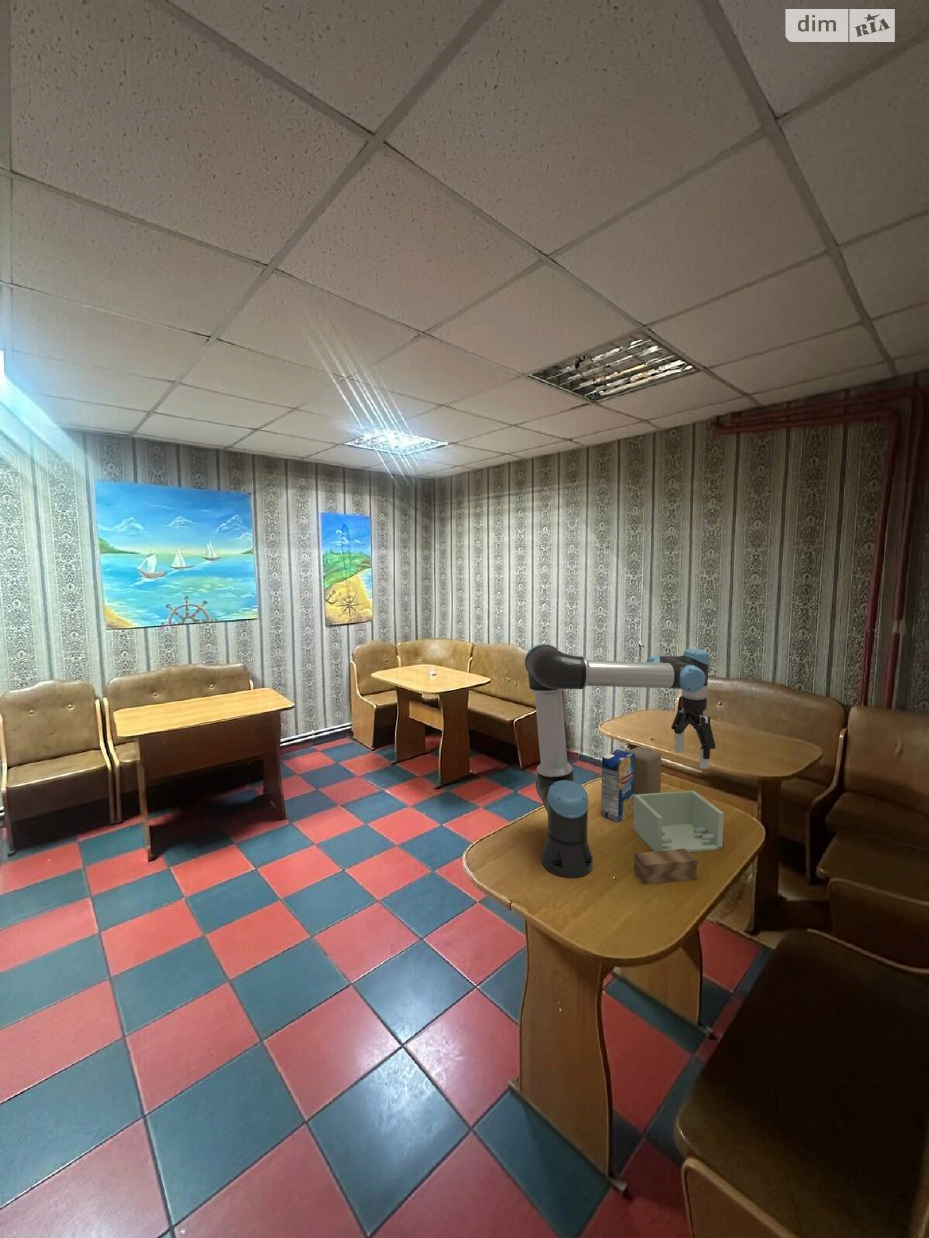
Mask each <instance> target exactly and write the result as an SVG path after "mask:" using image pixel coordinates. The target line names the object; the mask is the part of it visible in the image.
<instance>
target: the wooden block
mask: <svg viewBox="0 0 929 1238" xmlns="http://www.w3.org/2000/svg"><path fill="white" fill-rule="evenodd" d="M626 752H629V753H633V754H635V771H634V795H637V794H651V793H661V778H662V753H661V752H659V751H655V750H652V749H648V748H645V747H643V746H637V747H634V748H632V749H629V750H627V751H626Z"/></svg>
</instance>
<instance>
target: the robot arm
mask: <svg viewBox="0 0 929 1238" xmlns="http://www.w3.org/2000/svg"><path fill="white" fill-rule="evenodd" d="M709 656H710V655H709V652H708V651H707V650H703V649H698V648H687V649H685V650H683V654H682V655H678V656H677V655H674V656H673V655H667V656H666V655H657V656H656V655H654V656H649V657H648V658H647V659H646V661H622V660H621V661H618V660H595V659H594V660H591V659H586V658H585V657H584V656H583V655H582V656H580V655H571V654H567V653H565V652H562V651H560V650H559V649H558V648H556V647H555V646H554V645H552V644H546V643H540V644H539V643H538V644H537V645H534V646H533V647H531V648H530V649H529V650H528V651H527V652H526V654H525V658H524V668H525V670H526V672H527V676H528V687H529V690H530V691H532V692H533V693H534V702H535V711H536V712H535V713H536V724H537V725H536V726H537V735H538V736H537V737H538V746H539V747H538V748H539V756H540V759H539V760H540V763H539V764H538V765H537V767H536V778H535V789H536V793H537V795H538V797H539V798H540V801H541V802H542V805H543V807H544V809H545V811H546V814H547V837H546V840H545V843H544V846H543V848H542V851H541V863H542V865H543V867H544V868H545V869H546V870H547V871H549V872H550V873H552V874H554V875H557V876H560V877H563V878H570V879H571V878H573V879H574V878H581V877H584V876H586V875H589V873H590V872H591V871H592V869H593V867H594V866H593V865H594V863H593V855H592V852H591V848H590V845H589V842H588V814H589V813H588V812H589V809H588V808H589V798H588V793H587V791H586V788H584V786H582V785H581V784H579V783H576V782H575V781H574V780H575V779H574V768H573V766H572V765H571V764H570V763H569V762H568V755H567V742H566V728H565V718H564V717H565V716H564V704H563V703H564V702H563V692H564V690H584V689H585V688H586V687H607V688H608V687H611V688H612V687H613V688H614V687H615V688H648V689H673V690H674V689H680V690H681V695H682V696H681V699H680V700H681V703H680V704H681V705H678V706H677V711H676V714H675V716H674V719H673V721H672V724H671V730H673V731H674V734H675V735H674V737H675V738H674V742H675V743H674V752H675V753H684V744H685V730H686V729H687V727H688V726H689V725H690V726H692V727H693V729H694V730H695V732H696V735H697V737H698V739H699V742H700V745H701V747H700V749H699V769H709V766H710V757H711V750H715V749H716V742H715V739H714V734H713V731H712V730H713V729H712V726H711V717H710V716H705V715H704V712H705V711H706V710H707V703H708V700H707V697H708V683H709V669H710V667H709V666H710V657H709Z"/></svg>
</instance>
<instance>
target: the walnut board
mask: <svg viewBox="0 0 929 1238" xmlns="http://www.w3.org/2000/svg"><path fill="white" fill-rule="evenodd" d="M633 855H634V856H633V859H634V860H633V861H634V862H633V873H634V875H636V876H637V877H638V879H639V880H640V881H641V883H642V884H643V885H653V884H661V883H662V884H663V883H671V882H673V883H674V882H683V881H693V880H697V875H698V874H697V873H698V859H697V858H696V857H695V856H694V855H692V854H691V852H688V851H687V850H686V849H674V850H664V851H653V850H652V851H645V852H635V853H634V854H633Z"/></svg>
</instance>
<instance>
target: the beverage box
mask: <svg viewBox="0 0 929 1238" xmlns="http://www.w3.org/2000/svg"><path fill="white" fill-rule="evenodd" d="M601 759H602V760H601V761H602V762H601V795H600V796H601V800H600V802H601V803H600V805H601V806H600V807H601V808H600V816H601V817H603V818H605V819H607V820H609V821H613V822H615V823H617V824H619V823H621V822H622V821H623V820H625V819H626V818H628V817H629V816H630V815H633V803H634V771H635V754H633V753H629V752H627V751H626V750H621V749H616V750H614V751H611V752H609V753H608V754H606V755H603V756H602V758H601Z"/></svg>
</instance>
